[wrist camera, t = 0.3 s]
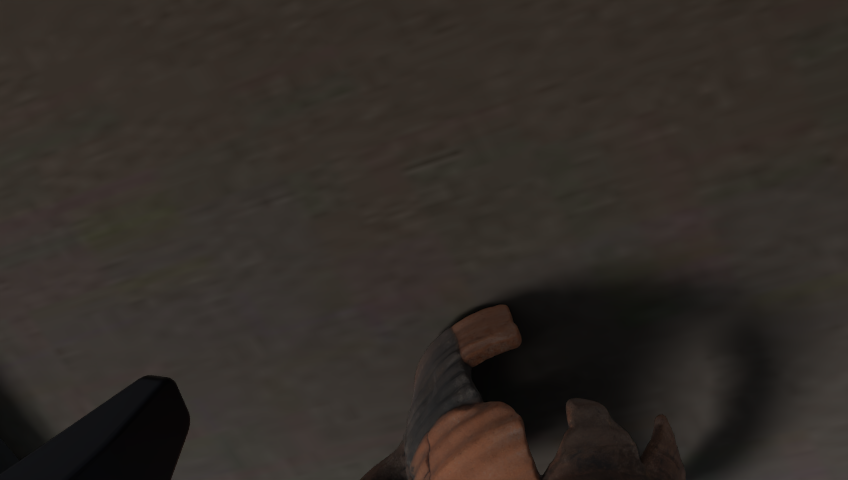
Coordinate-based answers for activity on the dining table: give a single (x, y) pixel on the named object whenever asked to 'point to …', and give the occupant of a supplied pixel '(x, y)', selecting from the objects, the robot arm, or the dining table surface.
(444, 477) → the brown ring holder
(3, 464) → the portable cd player
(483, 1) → the dining table surface
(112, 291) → the dining table surface
